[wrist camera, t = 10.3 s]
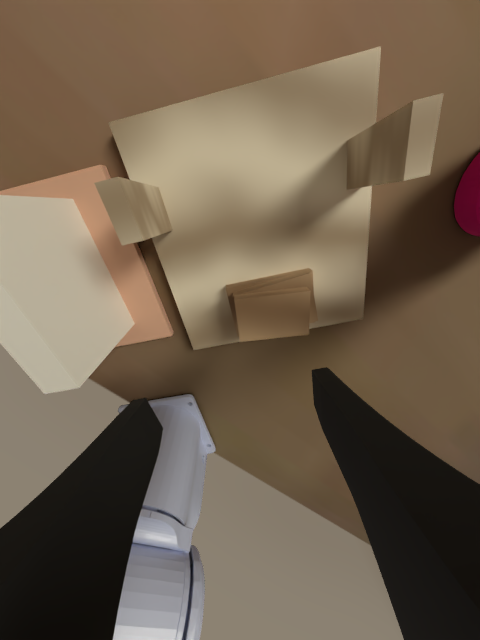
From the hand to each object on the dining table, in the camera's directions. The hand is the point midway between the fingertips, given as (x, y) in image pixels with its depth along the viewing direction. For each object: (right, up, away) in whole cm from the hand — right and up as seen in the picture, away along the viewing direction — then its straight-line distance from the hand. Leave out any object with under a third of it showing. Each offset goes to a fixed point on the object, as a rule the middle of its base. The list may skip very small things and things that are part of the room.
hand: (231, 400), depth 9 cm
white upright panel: (-10, +7, +6) cm, 14 cm away
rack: (+2, +9, +6) cm, 11 cm away
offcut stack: (+3, +5, +7) cm, 9 cm away
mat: (-10, +7, +7) cm, 14 cm away
